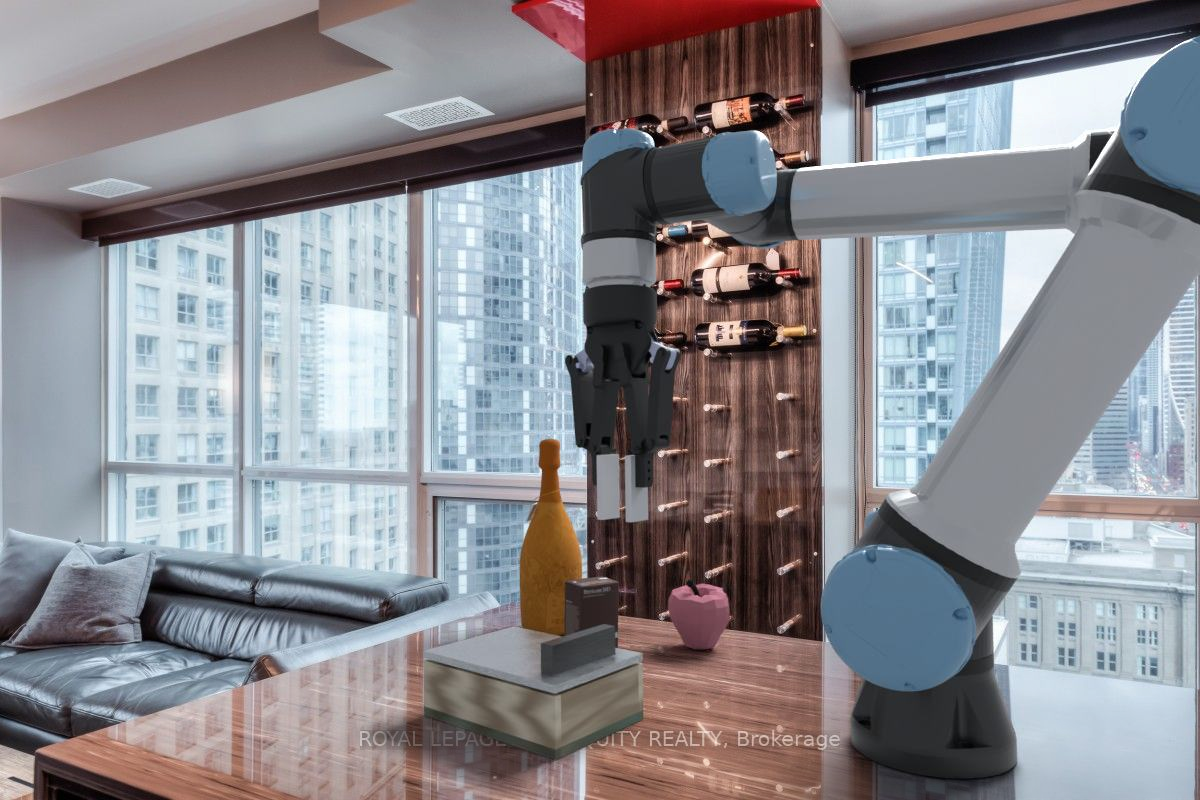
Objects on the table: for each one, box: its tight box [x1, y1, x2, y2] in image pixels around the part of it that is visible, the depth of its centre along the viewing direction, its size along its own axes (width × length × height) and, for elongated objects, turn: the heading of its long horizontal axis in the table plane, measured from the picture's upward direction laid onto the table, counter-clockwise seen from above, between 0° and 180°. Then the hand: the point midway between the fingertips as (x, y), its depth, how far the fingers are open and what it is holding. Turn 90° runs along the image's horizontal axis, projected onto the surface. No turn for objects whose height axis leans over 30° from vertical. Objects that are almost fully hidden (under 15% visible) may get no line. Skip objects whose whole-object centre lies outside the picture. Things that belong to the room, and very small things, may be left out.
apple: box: [667, 579, 731, 651], centre depth 118 cm, size 10×9×10 cm
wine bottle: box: [519, 438, 583, 636], centre depth 130 cm, size 10×10×30 cm
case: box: [423, 659, 644, 761], centre depth 91 cm, size 20×14×6 cm
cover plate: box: [423, 624, 644, 694], centre depth 91 cm, size 20×14×4 cm
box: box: [563, 576, 620, 648], centre depth 106 cm, size 6×4×12 cm
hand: (622, 519), depth 83 cm, fingers open, 3 cm apart
